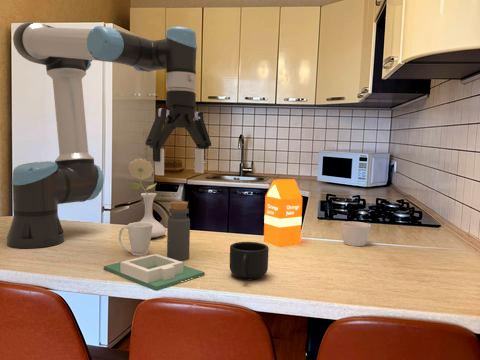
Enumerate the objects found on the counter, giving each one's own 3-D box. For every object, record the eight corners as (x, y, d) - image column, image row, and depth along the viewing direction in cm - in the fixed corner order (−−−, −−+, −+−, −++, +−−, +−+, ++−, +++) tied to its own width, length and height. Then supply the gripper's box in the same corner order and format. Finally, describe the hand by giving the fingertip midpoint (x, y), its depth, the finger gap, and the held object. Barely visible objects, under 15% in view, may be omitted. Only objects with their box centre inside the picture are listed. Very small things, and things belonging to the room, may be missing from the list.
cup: (145, 258, 110) (145, 227, 110) (112, 254, 113) (112, 224, 112) (157, 251, 117) (158, 223, 116) (125, 248, 120) (126, 220, 119)
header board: (103, 269, 100) (103, 255, 100) (151, 257, 111) (151, 245, 110) (156, 290, 87) (156, 275, 87) (204, 275, 98) (204, 261, 97)
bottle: (162, 257, 111) (163, 201, 110) (179, 253, 115) (180, 199, 114) (176, 262, 107) (177, 204, 106) (193, 258, 111) (194, 202, 110)
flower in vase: (171, 234, 139) (172, 158, 137) (157, 242, 128) (158, 160, 125) (135, 231, 142) (136, 157, 139) (118, 238, 131) (118, 158, 128)
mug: (233, 268, 104) (234, 240, 103) (269, 271, 102) (270, 243, 101) (222, 284, 92) (223, 252, 91) (263, 288, 90) (264, 256, 90)
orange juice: (300, 243, 131) (303, 180, 129) (279, 247, 126) (281, 180, 124) (284, 238, 138) (287, 177, 136) (263, 241, 133) (265, 178, 131)
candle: (358, 240, 139) (359, 221, 138) (375, 246, 130) (376, 226, 130) (335, 241, 136) (336, 222, 135) (350, 248, 127) (351, 227, 127)
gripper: (150, 84, 95) (150, 177, 97) (224, 95, 114) (223, 172, 116) (130, 86, 100) (131, 175, 102) (205, 96, 119) (204, 171, 121)
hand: (180, 174), depth 109 cm, fingers open, 13 cm apart
